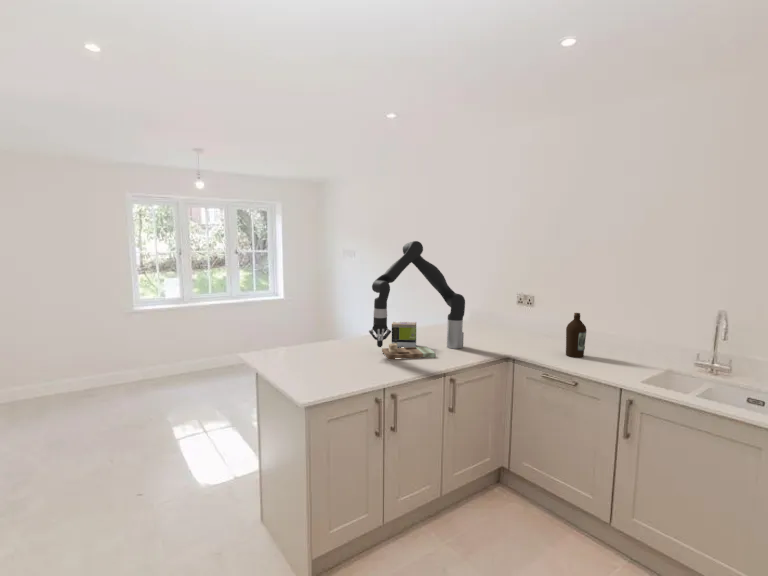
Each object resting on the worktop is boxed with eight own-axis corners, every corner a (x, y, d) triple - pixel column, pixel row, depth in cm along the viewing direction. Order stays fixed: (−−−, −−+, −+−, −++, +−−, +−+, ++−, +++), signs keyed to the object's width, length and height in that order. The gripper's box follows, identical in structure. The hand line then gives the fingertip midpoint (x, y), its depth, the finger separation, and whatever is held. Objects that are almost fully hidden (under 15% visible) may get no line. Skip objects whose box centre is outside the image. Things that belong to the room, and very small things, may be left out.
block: (395, 350, 241) (395, 343, 240) (397, 352, 237) (397, 345, 237) (388, 350, 240) (388, 343, 240) (390, 352, 236) (390, 345, 236)
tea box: (416, 344, 266) (416, 321, 264) (415, 348, 256) (416, 324, 254) (392, 343, 267) (392, 320, 266) (391, 347, 257) (391, 323, 256)
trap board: (426, 350, 251) (426, 346, 251) (435, 357, 237) (435, 352, 237) (382, 352, 245) (382, 348, 245) (388, 359, 230) (388, 355, 230)
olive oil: (560, 354, 246) (563, 312, 243) (571, 352, 252) (574, 311, 249) (577, 359, 237) (580, 315, 234) (588, 356, 243) (591, 313, 240)
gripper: (390, 314, 240) (389, 344, 242) (367, 315, 237) (366, 345, 239) (393, 317, 233) (392, 348, 234) (370, 317, 229) (369, 349, 231)
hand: (379, 346), depth 236 cm, fingers closed
